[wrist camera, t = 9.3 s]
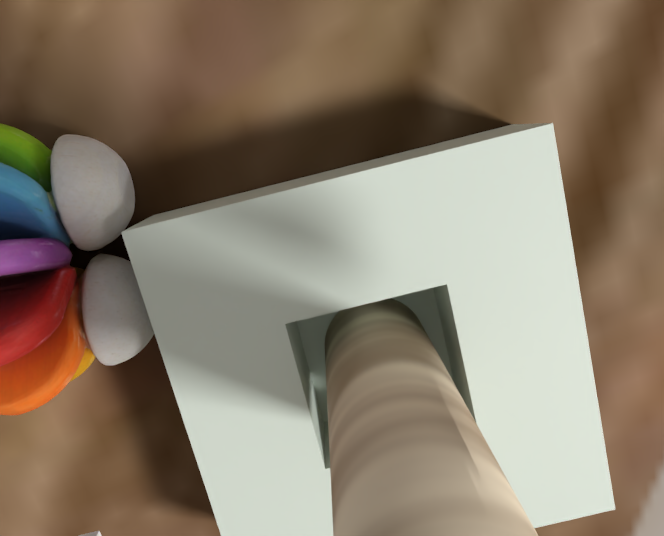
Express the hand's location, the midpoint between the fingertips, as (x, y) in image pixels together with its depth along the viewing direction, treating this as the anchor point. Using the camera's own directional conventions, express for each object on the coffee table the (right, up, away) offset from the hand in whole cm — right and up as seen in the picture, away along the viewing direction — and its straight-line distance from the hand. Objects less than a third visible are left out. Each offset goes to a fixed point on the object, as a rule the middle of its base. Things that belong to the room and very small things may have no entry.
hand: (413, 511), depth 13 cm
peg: (0, +2, +11) cm, 11 cm away
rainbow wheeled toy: (-13, +6, +11) cm, 18 cm away
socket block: (0, +2, +12) cm, 12 cm away
